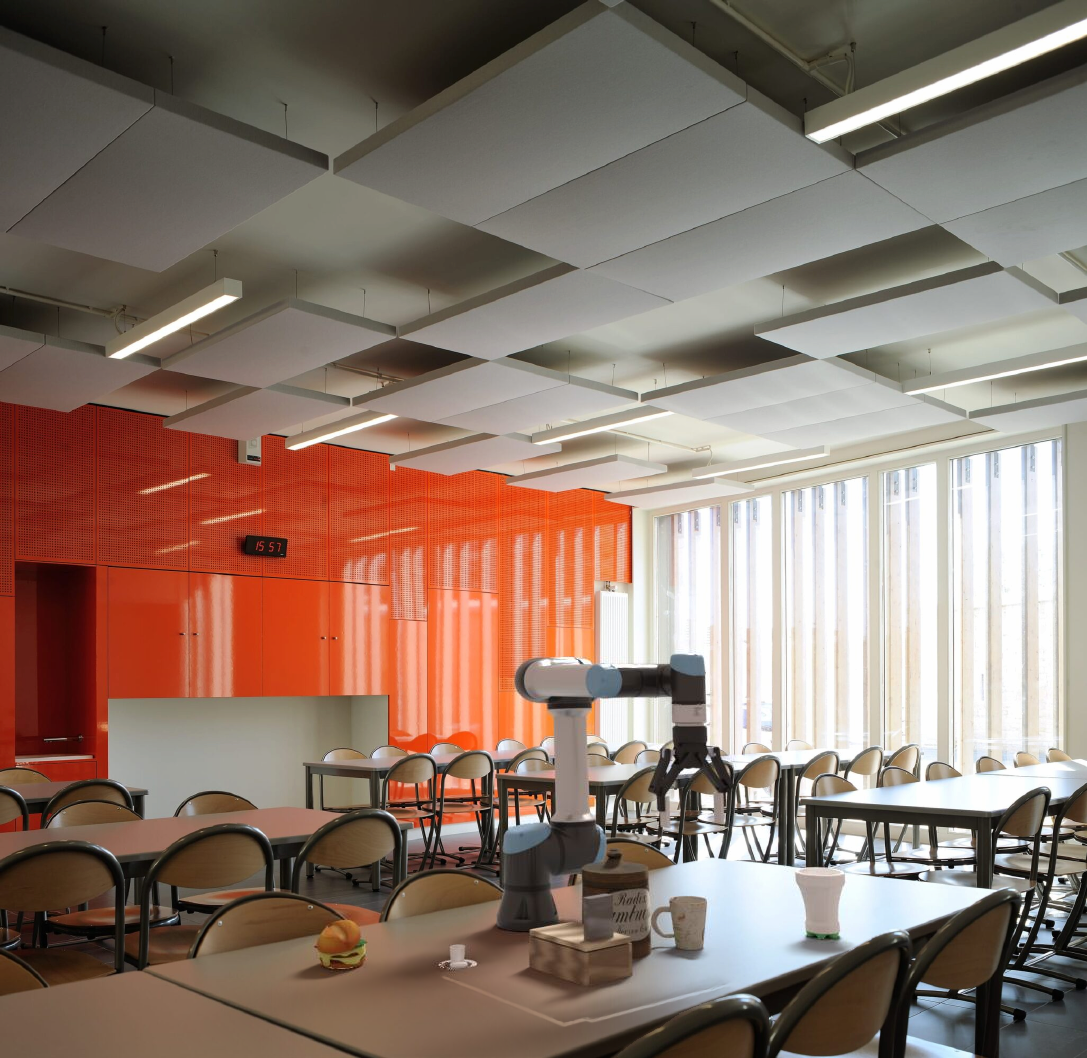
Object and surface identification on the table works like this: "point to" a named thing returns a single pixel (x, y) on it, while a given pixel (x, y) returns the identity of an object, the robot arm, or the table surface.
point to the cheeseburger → (341, 945)
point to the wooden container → (623, 897)
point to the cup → (821, 899)
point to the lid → (587, 927)
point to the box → (580, 961)
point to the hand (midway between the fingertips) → (692, 825)
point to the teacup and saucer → (458, 958)
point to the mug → (684, 921)
